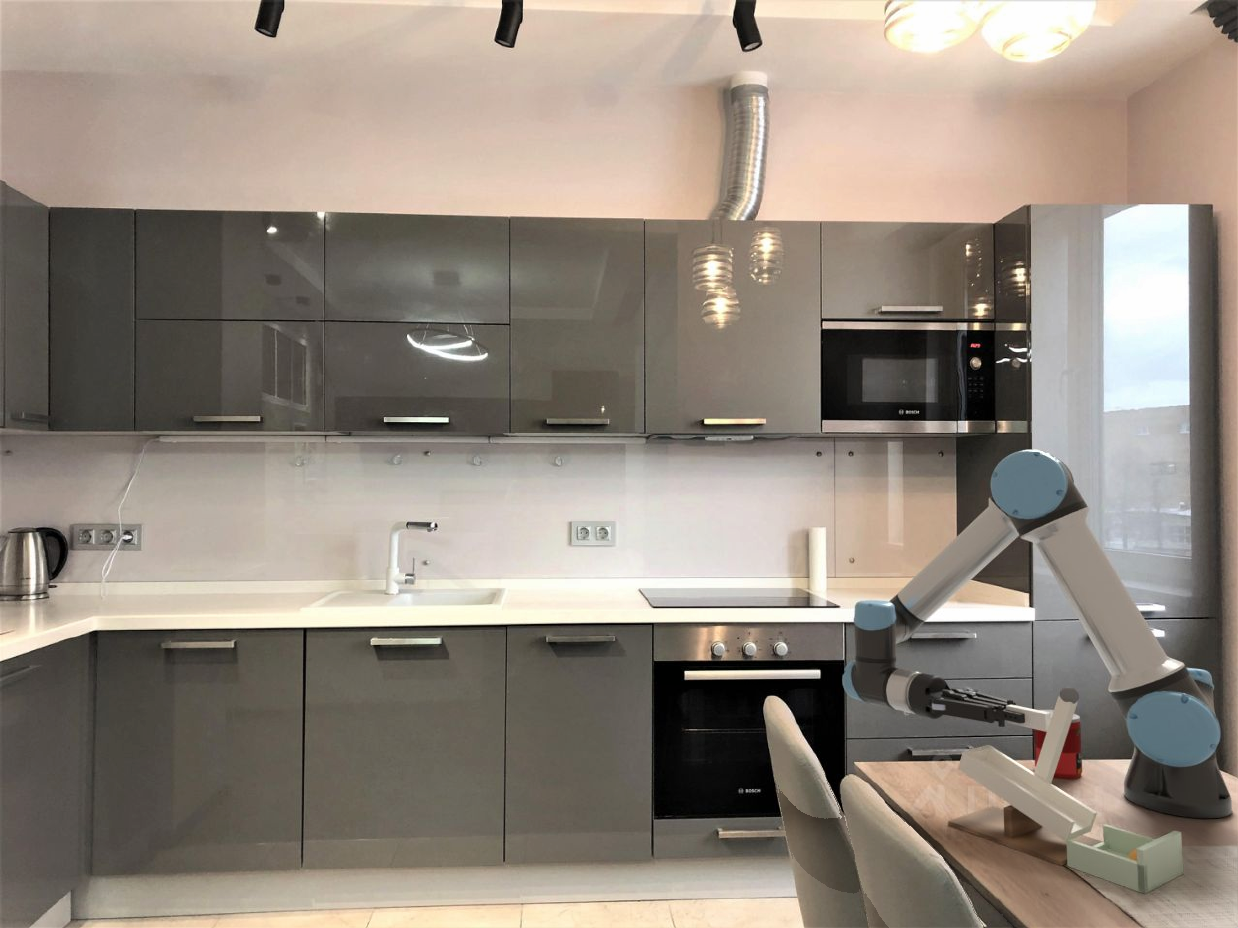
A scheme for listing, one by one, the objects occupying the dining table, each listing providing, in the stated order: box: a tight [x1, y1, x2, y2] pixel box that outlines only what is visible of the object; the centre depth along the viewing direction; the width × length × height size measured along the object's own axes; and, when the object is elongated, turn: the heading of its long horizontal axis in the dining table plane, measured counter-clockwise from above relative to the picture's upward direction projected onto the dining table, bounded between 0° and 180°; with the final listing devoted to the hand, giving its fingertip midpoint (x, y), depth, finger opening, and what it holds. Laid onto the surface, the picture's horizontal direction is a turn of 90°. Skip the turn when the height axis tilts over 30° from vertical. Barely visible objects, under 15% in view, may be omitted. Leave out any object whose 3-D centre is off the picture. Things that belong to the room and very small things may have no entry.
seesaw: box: [957, 686, 1098, 842], centre depth 123 cm, size 18×9×18 cm, turn 33°
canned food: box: [1033, 709, 1083, 780], centre depth 154 cm, size 8×8×11 cm
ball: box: [1129, 849, 1137, 861], centre depth 110 cm, size 3×3×3 cm
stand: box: [947, 804, 1104, 867], centre depth 124 cm, size 18×12×5 cm, turn 33°
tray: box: [1066, 823, 1184, 895], centre depth 112 cm, size 10×11×6 cm
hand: (1048, 722), depth 126 cm, fingers closed
